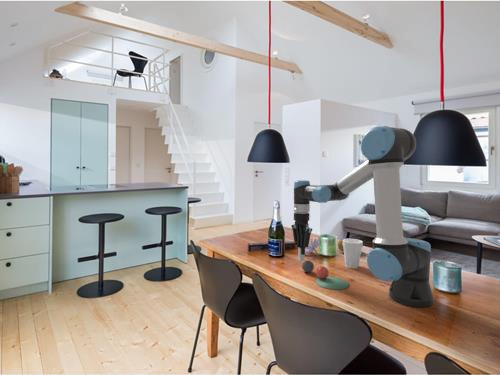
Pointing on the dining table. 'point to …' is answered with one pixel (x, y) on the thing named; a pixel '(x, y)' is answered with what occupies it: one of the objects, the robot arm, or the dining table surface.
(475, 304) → the dining table surface
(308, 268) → the dark gray ball
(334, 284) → the green mark
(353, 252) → the foam cup
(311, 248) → the water lily
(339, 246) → the potato
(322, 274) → the red ball
